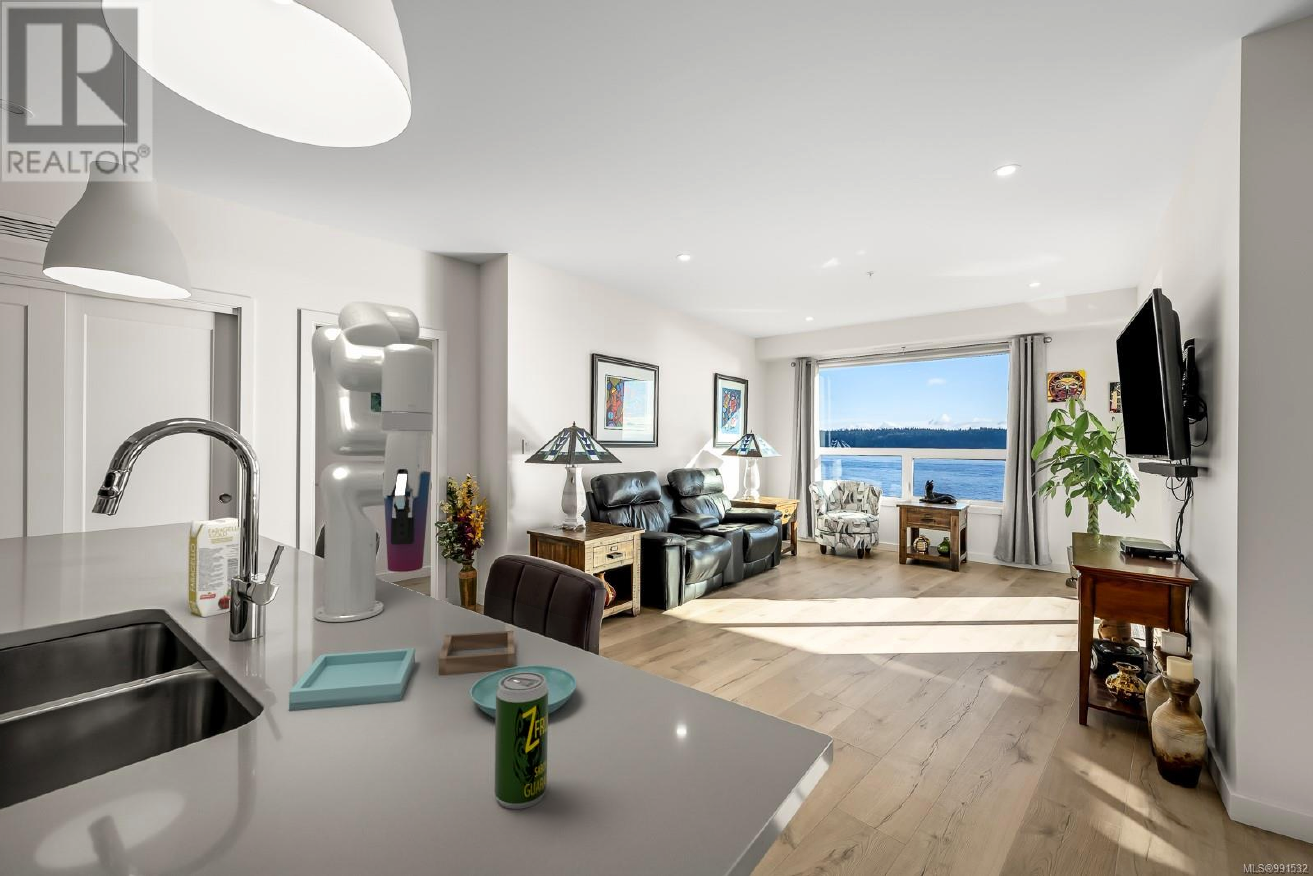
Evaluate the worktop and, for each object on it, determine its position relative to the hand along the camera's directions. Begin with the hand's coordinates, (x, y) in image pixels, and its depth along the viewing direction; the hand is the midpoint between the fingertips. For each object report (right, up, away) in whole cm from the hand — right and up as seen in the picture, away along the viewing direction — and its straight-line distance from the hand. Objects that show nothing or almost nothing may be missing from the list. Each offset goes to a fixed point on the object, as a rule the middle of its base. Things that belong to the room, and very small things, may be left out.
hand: (405, 538), depth 92 cm
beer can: (+25, -22, -30) cm, 45 cm away
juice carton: (-52, -20, +31) cm, 64 cm away
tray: (-5, -21, -4) cm, 22 cm away
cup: (0, -5, 0) cm, 5 cm away
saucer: (+21, -22, -9) cm, 31 cm away
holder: (+9, -21, +7) cm, 24 cm away
